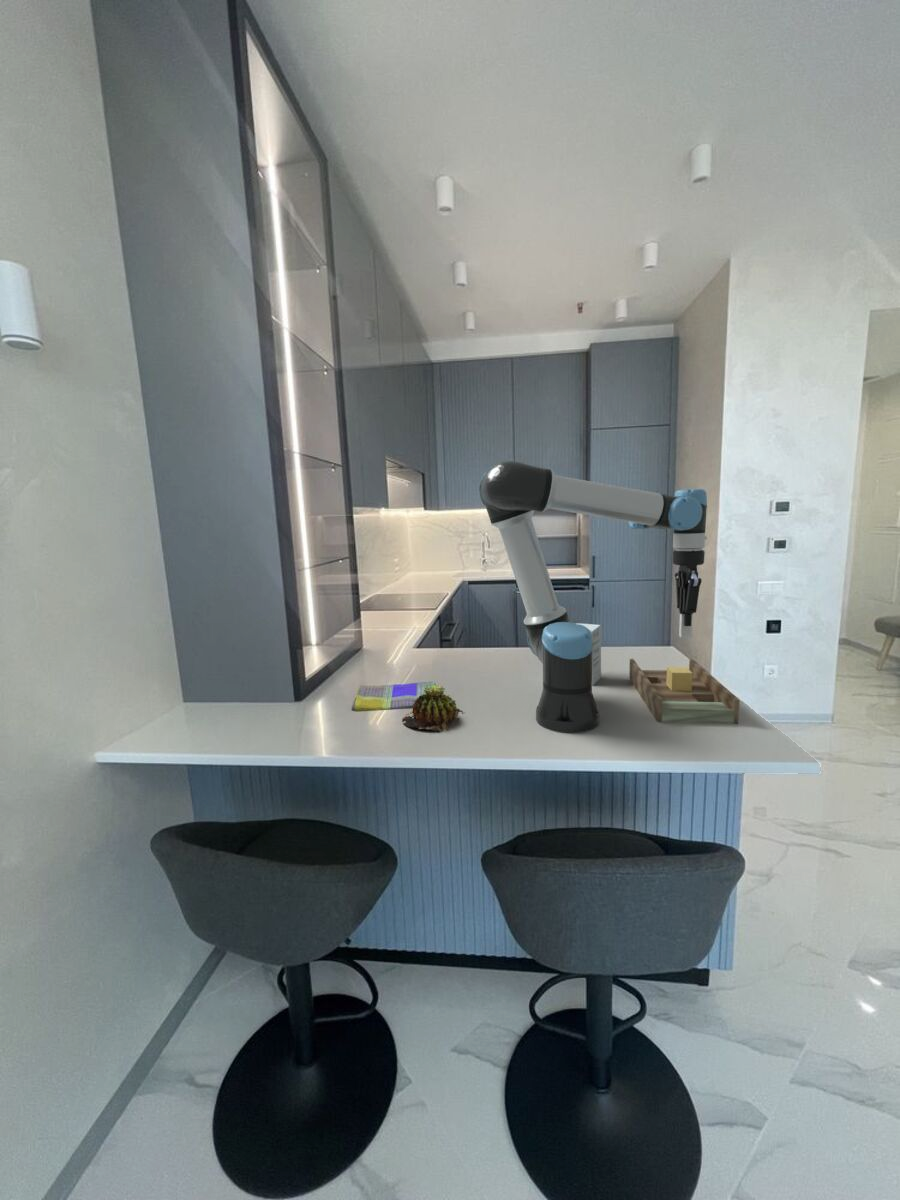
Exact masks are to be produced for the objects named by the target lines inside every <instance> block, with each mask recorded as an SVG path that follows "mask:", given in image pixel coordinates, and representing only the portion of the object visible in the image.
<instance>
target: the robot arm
mask: <svg viewBox="0 0 900 1200" xmlns="http://www.w3.org/2000/svg"><path fill="white" fill-rule="evenodd" d="M478 491H479V493H478V494H479V498H480V501H481V502H482V505H484V507H485V509H486V512H487V515H488V518H489V521H490V524H491V526H493V527H495V528H497V529H498V530H499V532H500V536H501V539H502V541H503V545H504V547H505V551H506V553H507V557H508V559H509V564H510V566H511V569H512V572H513V575H514V579H515V581H516V585H517V588H518V590H519V593H520V596H521V600H522V603H523V606H524V608H525V612H526V616H525V617H524V619H523V624H524V629H525V631H526V635H527V637H526V639H527V644H528V646H529V649H530V650H531V652H532V653H533V655H534V656H535V657H536V658H538V660H539V661H540V662H541V664H542V691H541V695H540V697H539V702H538V704H537V706H536V709H535V720H536V722H537V723H538V724H539V725H540V726H541V727H542V728H544V729H548V730H551V731H554V732H558V733H559V732H560V733H570V734H571V733H572V734H573V733H582V732H588V731H591V730H594V729H595V728H597V727H598V726H599V724H600V711H599V710H598V707H597V703H596V699H595V696H594V694H593V691H592V690H593V686H592V649H593V641H592V634H591V632H590V630H589V629H588V628H587V627H585V626H583V625H580V624H581V623H580V624H576V622H571V621H570V618H569V614H568V612H567V611H568V610H567V609H566V608H565V607H563V606H562V605H560V604H559V603H558V600H557V596H556V593H555V590H554V587H553V584H552V580H551V576H550V573H549V571H548V568H547V564H546V560H545V558H544V554H543V552H542V551H543V550H542V548H541V545H540V542H539V539H538V535H537V532H536V529H535V526H534V522H533V519H532V518H533V516H534V512H540V513H544V512H545V511H547V510H554V511H561V512H566V513H567V512H568V513H572V514H573V513H575V514H579V515H585V516H592V517H598V518H604V519H611V520H615V521H621V522H626V523H627V522H628V525H629V526H630V528H632V529H634V530H635V529H636V530H645V529H658V530H659V529H660V530H671V531H672V530H673V533H672V535H673V536H672V537H673V538H672V540H673V541H672V548H673V549H674V550H673V552H672V564H673V565H676V566H678V571H677V572H675V573H674V578H675V588H676V590H675V593H676V608H677V609H678V611H679V626H678V627H679V628H678V629H679V633H678V637H679V638H692V635H693V632H692V631H693V614H695V613H697V610H698V601H699V595H700V594H699V593H700V587H701V584H702V578H699V572H698V568H697V567H698V566H702V565H704V564H705V555H706V554H705V551H704V548H705V547H706V546H705V545H706V540H707V539H708V537H707V535H706V528H707V527H706V524H707V508H708V497H707V491H706V490H705V489H703V488H693V489H679V490H676V491H675V492H674V495H670V494H663V493H658V492H653V491H647V490H641V489H635V488H631V487H630V488H629V487H625V486H618V485H613V484H608V483H607V484H606V483H601V482H597V481H592V480H591V481H589V480H585V479H579V478H574V477H566V476H562V475H556V474H555V472H554V471H553V470H552V469H549V468H545V467H544V468H543V467H539V466H536V465H532V464H527V463H524V462H520V461H515V460H506V461H502V462H500V463H497V464H496V465H494V466H492V467H490V468H489V469H488V470H486V472H485V473H484V474H483V475H482V478H481V479H480V482H479V488H478Z"/></svg>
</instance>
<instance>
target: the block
mask: <svg viewBox="0 0 900 1200" xmlns="http://www.w3.org/2000/svg"><path fill="white" fill-rule="evenodd" d="M666 670H667V680H666V685H667V686H668V687H669V688H670V689H671V691H692V672H691V671H690V670H689V667H686V666H667V667H666Z"/></svg>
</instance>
